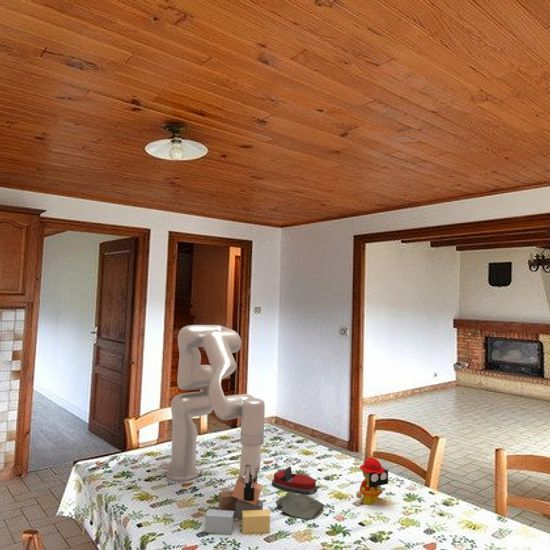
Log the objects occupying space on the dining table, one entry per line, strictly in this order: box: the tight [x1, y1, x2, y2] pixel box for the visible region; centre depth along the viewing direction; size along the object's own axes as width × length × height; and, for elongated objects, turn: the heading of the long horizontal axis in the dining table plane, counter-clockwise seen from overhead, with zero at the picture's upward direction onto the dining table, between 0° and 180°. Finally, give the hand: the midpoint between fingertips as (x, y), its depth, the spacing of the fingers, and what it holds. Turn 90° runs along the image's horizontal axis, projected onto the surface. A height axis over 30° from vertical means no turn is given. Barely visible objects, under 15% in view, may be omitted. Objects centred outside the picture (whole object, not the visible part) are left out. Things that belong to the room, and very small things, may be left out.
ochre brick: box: [241, 509, 271, 535], centre depth 134 cm, size 8×4×5 cm, turn 99°
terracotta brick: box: [232, 475, 263, 505], centre depth 142 cm, size 8×4×5 cm, turn 81°
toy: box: [355, 457, 389, 505], centre depth 156 cm, size 11×9×15 cm
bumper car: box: [269, 454, 318, 496], centre depth 168 cm, size 10×20×10 cm, turn 60°
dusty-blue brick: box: [204, 509, 235, 535], centre depth 133 cm, size 8×4×5 cm, turn 87°
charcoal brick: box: [234, 499, 264, 521], centre depth 142 cm, size 8×4×5 cm, turn 81°
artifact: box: [275, 491, 325, 520], centre depth 149 cm, size 14×4×15 cm
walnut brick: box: [218, 490, 238, 512], centre depth 148 cm, size 8×4×5 cm, turn 108°
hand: (250, 496), depth 142 cm, fingers closed on terracotta brick, 4 cm apart
